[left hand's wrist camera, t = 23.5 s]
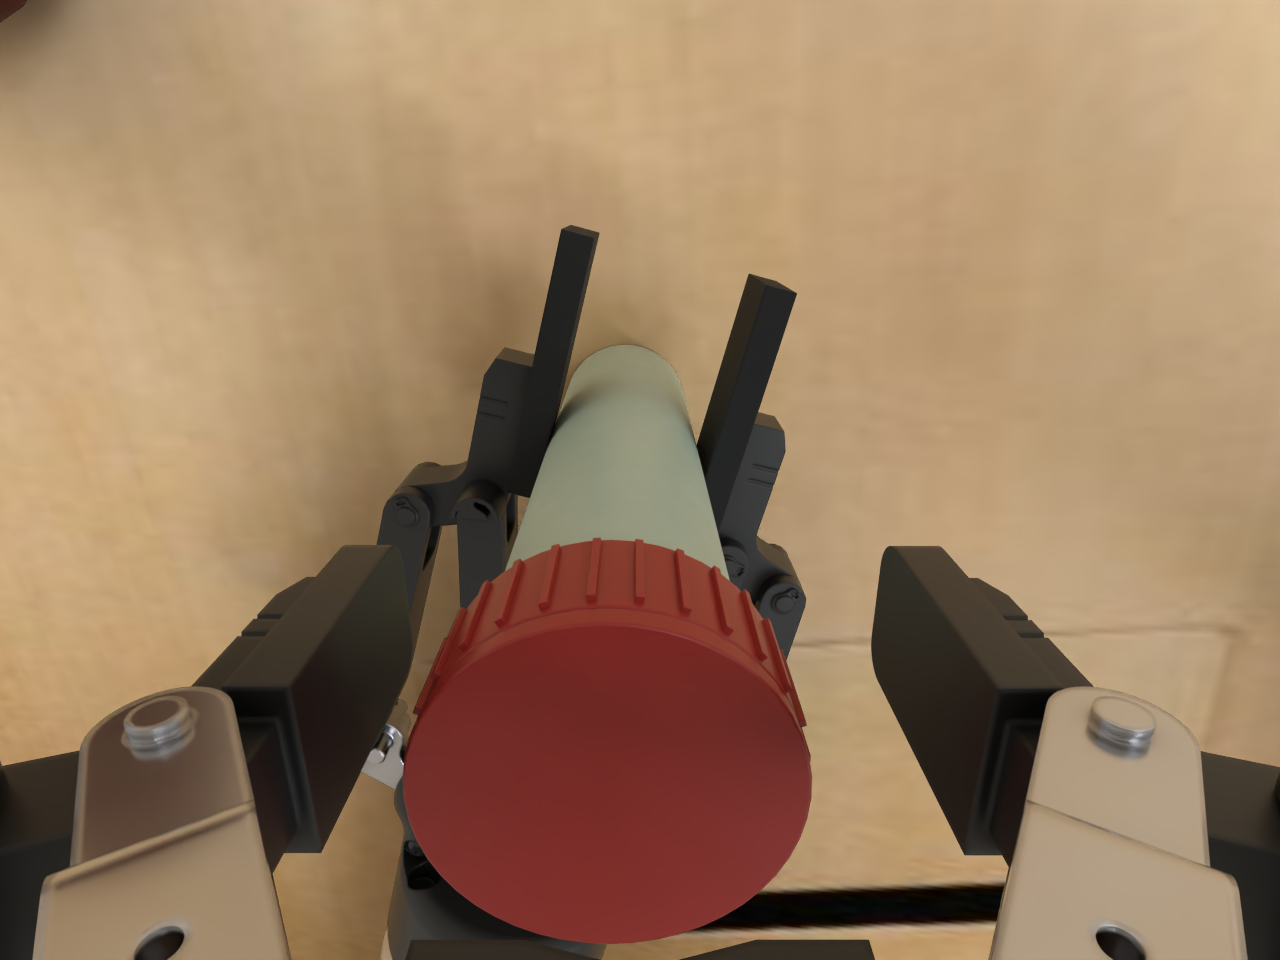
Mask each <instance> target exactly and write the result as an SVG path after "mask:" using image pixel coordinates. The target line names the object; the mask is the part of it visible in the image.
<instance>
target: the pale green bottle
mask: <svg viewBox="0 0 1280 960" xmlns="http://www.w3.org/2000/svg"><path fill="white" fill-rule="evenodd" d="M593 538H601V540H624V541H635V539H641V540H643V541H644V543H648V544H653V545H658V546H662V547H665V548H668V549H671V550H674V551H676V549H677V548H678V549H681V550H684V554H685V555H687V556H690V557H692V558H694V559H696V560H698V561H701V562H703V563H704V564H706V565H707V566H709V567H711V568H712V567H713V566H716V567H718V568H719V569H720V571H721V574H722V575H723V576H724V577H725V578H727V579H728V580H729V576H728V572H727V568H726V564H725V560H724V556H723V552H722V548H721V543H720V539H719V535H718V531H717V527H716V523H715V519H714V515H713V511H712V507H711V503H710V499H709V495H708V491H707V487H706V483H705V479H704V475H703V470H702V466H701V462H700V458H699V454H698V450H697V446H696V442H695V438H694V434H693V430H692V426H691V422H690V418H689V414H688V410H687V406H686V402H685V397H684V393H683V390H682V386H681V383H680V380H679V378H678V376H677V374H676V373H675V371H674V369H673V368H672V367H671V366H670V364H669V363H668V362H667V361H666V360H664V359H663V358H662V357H661V356H659V355H658V354H656V353H654V352H653V351H651V350H648V349H646V348H643V347H639V346H635V345H615V346H610V347H607V348H604V349H601V350H599V351H597V352H595V353H594V354H592V355H590V356H589V357H588V358H587V359H585V360H584V361H583V362H582V363H581V365H580V366H579V367H578V368H577V370H576V371H575V373H574V374H573V376H572V378H571V381H570V384H569V386H568V389H567V392H566V395H565V398H564V401H563V404H562V407H561V410H560V412H559V415H558V418H557V421H556V424H555V427H554V430H553V433H552V436H551V439H550V442H549V445H548V447H547V450H546V453H545V456H544V459H543V462H542V465H541V468H540V471H539V474H538V476H537V479H536V482H535V485H534V488H533V491H532V494H531V497H530V500H529V503H528V506H527V508H526V511H525V514H524V517H523V520H522V523H521V526H520V529H519V532H518V535H517V538H516V540H515V543H514V546H513V549H512V552H511V555H510V558H509V561H508V564H507V567H506V570H508V569H510V568H511V567H512V566H513V563H514V561H516V560H518V559H521V560H522V561H523V560H526V559H528V558H530V557H532V556H535V555H537V554H539V553H541V552H544V551H547V550H551V546H552V545H556V544H559V545H560V546H564V545H568V544H574V543H580V542H585V541H593ZM506 570H505V571H506ZM729 581H730V580H729Z"/></svg>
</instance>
